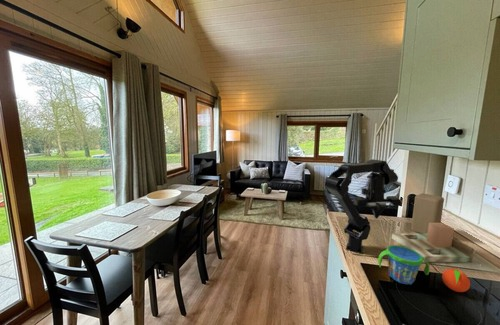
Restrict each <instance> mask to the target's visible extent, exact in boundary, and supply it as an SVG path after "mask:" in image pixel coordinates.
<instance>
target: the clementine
mask: <svg viewBox="0 0 500 325" xmlns="http://www.w3.org/2000/svg"><path fill="white" fill-rule="evenodd" d="M441 278H442V281H443V283H444V285H445V286H446V287H447V288H449V289H450V290H452V291H453V292H457V293H464V292H467V291H468V290H470V287H471V280H470V278H469V277H468V276H467V275H466V274H465V273H464V272H462V271H461V270H460V269H456V268H447V269H445V270H444V271H443V272H442V275H441Z"/></svg>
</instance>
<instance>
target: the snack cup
mask: <svg viewBox="0 0 500 325" xmlns="http://www.w3.org/2000/svg"><path fill="white" fill-rule="evenodd" d="M384 256H387V260H388V261H387V263H388V264H387V265H388V275H389V276H390V278H392V279H393V281H396V282H398V284H402V285H403V284H404V285H410V286H412V284H413V283H414V282H415V281H416V277H417V275H418V272H419V269H420V267H421V265H422V264H423V260H424V261H425V262H424V263H425V266H424V269H423V272H424V274H425V276H429V274H430V271H431V270H430V268H431V267H430V264H429V263H430V262H427V260H426V259H425V258H424V257H422V256H421V255H420V254H419V253H417V252H416V251H414V250H411V249H409V248H406V247H403V246H402V245H388V246H387V248H386V249H384V250H383V251H381V252H380V254H379V255H378V258H377V264H378V266H379V268H382V260H383V257H384Z"/></svg>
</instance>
